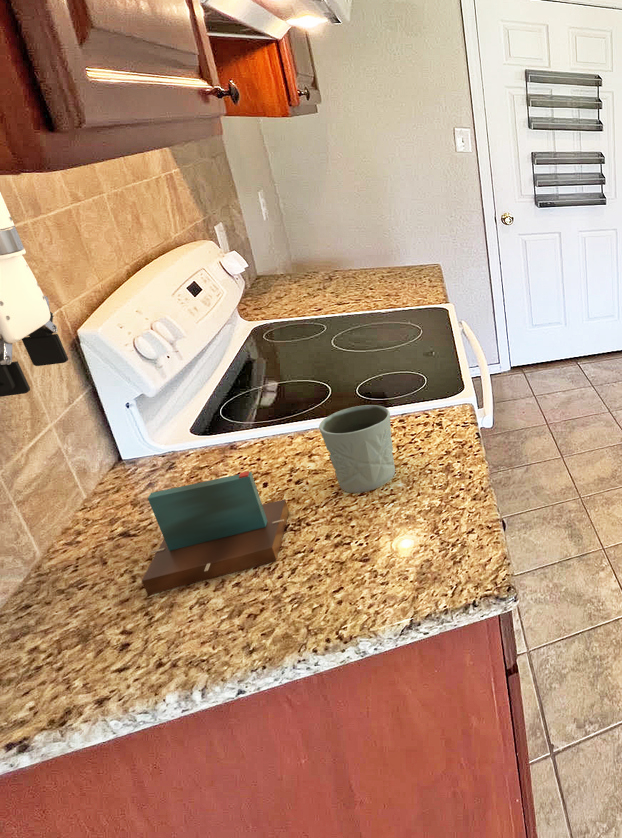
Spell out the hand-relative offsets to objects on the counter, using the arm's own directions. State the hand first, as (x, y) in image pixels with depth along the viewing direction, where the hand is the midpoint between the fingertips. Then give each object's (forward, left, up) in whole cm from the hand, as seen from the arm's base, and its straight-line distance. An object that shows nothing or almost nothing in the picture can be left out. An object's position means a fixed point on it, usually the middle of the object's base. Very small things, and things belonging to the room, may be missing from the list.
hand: (32, 378), depth 72 cm
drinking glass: (+32, +5, -28) cm, 43 cm away
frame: (+14, -6, -26) cm, 30 cm away
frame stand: (+14, -6, -28) cm, 32 cm away
